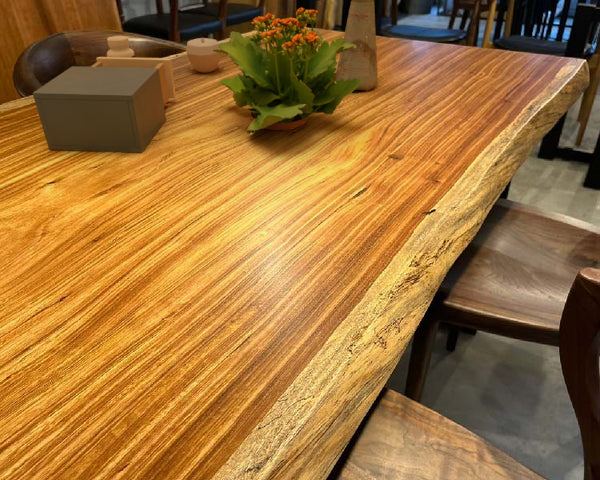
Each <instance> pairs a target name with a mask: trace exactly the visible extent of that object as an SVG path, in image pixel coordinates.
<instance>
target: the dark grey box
mask: <svg viewBox="0 0 600 480" xmlns="http://www.w3.org/2000/svg"><path fill="white" fill-rule="evenodd" d="M32 96H33V98H34V102H35V107H36V110H37V113H38V117H39V120H40V124H41V127H42V131H43V133H44V138H45V141H46V144H47V147H48V150H49V151H73V152H75V151H76V152H103V153H105V152H106V153H139V154H140V153H141V154H142V153H143V152H144V151H145V149H147V147H148V145H149V144H150V143H151V142H152V140H153V138H154V137H155V136H156V135H157V133H158V132H159V130H160V129H161V128H162V127H163V125H164V123H165V122H166V121H167V118H166V117H167V116H166V111H165V110H166V109H165V104H164V103H163V96H162V89H161V82H160V75H159V69H158V68H123V67H91V66H79V65H78V66H76V65H75V66H74V65H72V66H70V67H69V68H68V69H66V70H64V71H63V72H62V73H60V74H58V75H57V76H56V77H54V78H53V79H51V80H50V81H48V82H47V83H45V84H44V85H42V86H40V87H39V88H38V89H36V90H34V91H33V92H32Z"/></svg>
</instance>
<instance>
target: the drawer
mask: <svg viewBox="0 0 600 480" xmlns="http://www.w3.org/2000/svg"><path fill="white" fill-rule="evenodd" d="M95 60H96V62H95V63H93V64H92V65H91V66H90V67H123V68H158V69H159V75H160V82H161V89H162V96H163V103H164V105H166V104H167V102H168V100H169V99H175V98H176V97H177V94H176V93H177V92H176V85H175V80H174V78H175V77H174V71H173V64H172V58H169V57H135V58H132V57H107V56H98V57H96V58H95Z"/></svg>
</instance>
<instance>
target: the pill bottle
mask: <svg viewBox="0 0 600 480" xmlns="http://www.w3.org/2000/svg"><path fill="white" fill-rule="evenodd" d="M106 41H107V46H108V48H109V49H108V50H107V52H106V57H132V58H136V55H135V51H134V50H133V49H132V48H131V47H130V41H129V37H128V36H126V35H114V36H109V37H107V39H106Z"/></svg>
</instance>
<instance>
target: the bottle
mask: <svg viewBox="0 0 600 480" xmlns="http://www.w3.org/2000/svg"><path fill="white" fill-rule="evenodd" d="M375 12H376V11H375V0H351V1H350V6H349V9H348V15H347V20H346V26H345V30H344V35H343V39H344V44H345V43H346V42H348V41H349V43H350V44H355V45H356V46H357V47H356V48H354V49H350V50H346V51H343V52H341V53H339V59H338V62H337V67H336V71H335V73H337V75H336V81H335V83H336V82H337V81H340V80H342V79H343V80H344V81H346V80H348V79H351V80H352V79H355V78H357V80H358V79H362V82H361V84H360V85H359V86H358V87H357V88H356V89H355V90H354V91H370V90H373V89H375V88H376V86H377V84H378V81H379V76H378V75H379V74H378V56H377V50H378V49H377V48H378V47H377V37H376V36H377V34H376V13H375Z"/></svg>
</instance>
